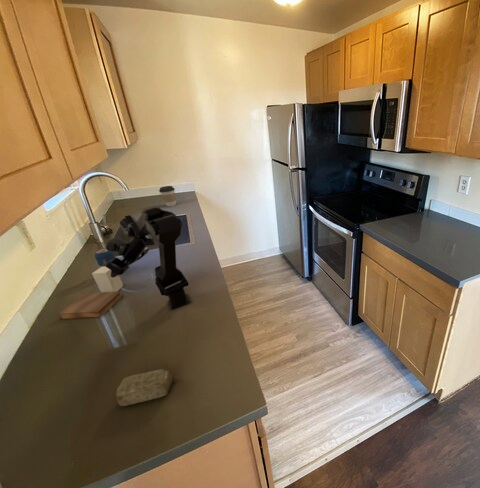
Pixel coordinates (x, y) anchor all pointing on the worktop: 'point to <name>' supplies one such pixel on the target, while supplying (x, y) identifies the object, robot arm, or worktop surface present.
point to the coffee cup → (168, 195)
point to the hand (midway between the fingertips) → (119, 270)
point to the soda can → (103, 256)
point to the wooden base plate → (90, 305)
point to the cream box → (107, 280)
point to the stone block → (144, 387)
